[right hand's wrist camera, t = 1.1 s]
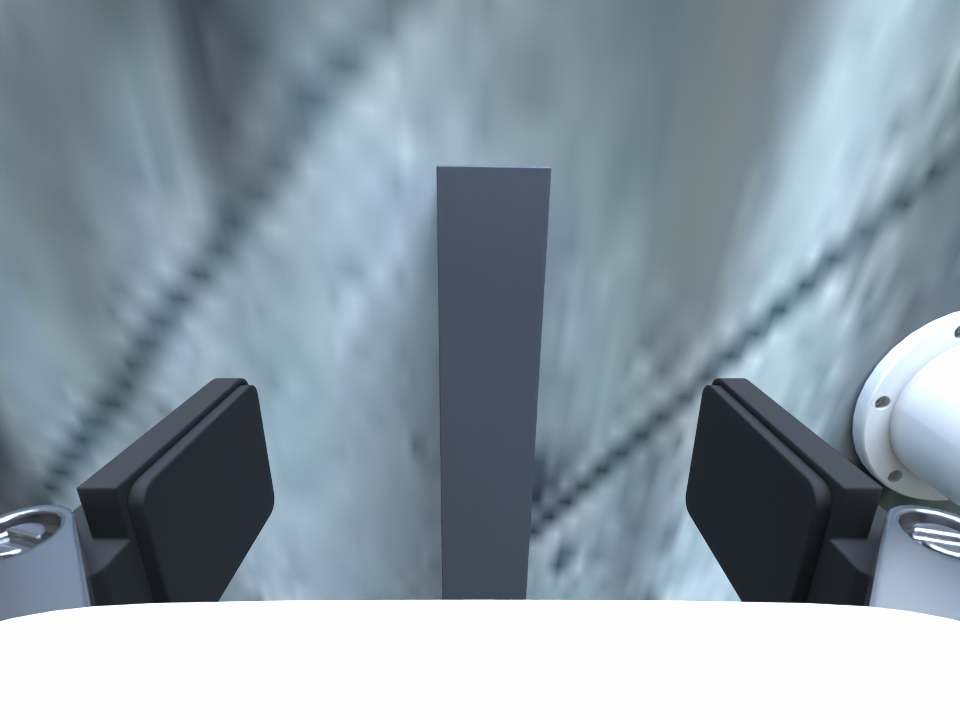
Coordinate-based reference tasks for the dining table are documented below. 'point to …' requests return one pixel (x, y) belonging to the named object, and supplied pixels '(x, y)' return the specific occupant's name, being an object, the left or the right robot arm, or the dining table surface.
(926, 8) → the dining table surface
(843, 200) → the dining table surface
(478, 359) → the bar
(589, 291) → the dining table surface
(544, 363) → the dining table surface
